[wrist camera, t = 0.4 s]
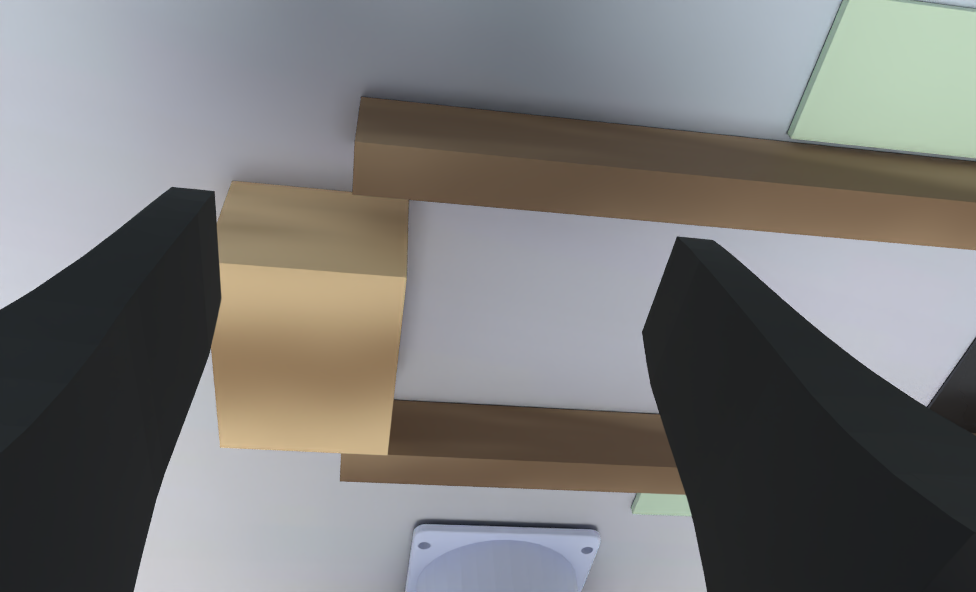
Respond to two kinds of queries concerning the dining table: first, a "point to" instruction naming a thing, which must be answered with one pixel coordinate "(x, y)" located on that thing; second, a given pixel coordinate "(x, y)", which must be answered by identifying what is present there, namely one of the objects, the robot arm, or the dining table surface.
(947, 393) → the trap bay
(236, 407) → the oak block
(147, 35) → the dining table surface
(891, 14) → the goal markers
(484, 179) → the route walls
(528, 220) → the dining table surface
